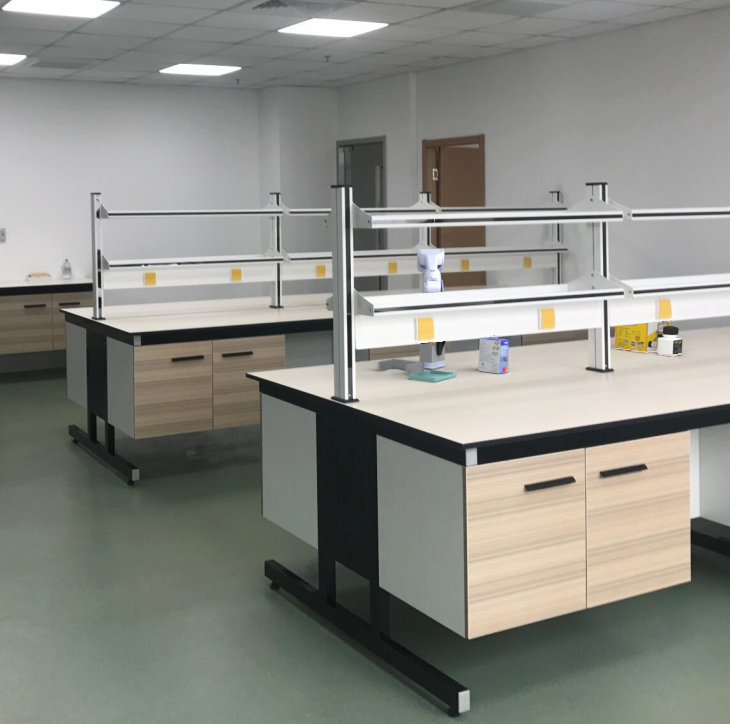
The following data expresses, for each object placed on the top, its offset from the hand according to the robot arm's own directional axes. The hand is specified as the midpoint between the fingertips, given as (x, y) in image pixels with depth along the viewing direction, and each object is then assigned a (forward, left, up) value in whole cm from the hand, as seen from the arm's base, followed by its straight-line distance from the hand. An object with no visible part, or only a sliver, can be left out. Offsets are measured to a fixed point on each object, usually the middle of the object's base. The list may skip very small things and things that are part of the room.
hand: (432, 354), depth 337 cm
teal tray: (0, 0, -8) cm, 8 cm away
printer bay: (-4, -17, -8) cm, 19 cm away
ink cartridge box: (-25, +10, -9) cm, 28 cm away
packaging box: (-114, +31, -9) cm, 119 cm away
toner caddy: (0, 0, -2) cm, 2 cm away
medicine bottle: (-105, +46, -9) cm, 115 cm away
